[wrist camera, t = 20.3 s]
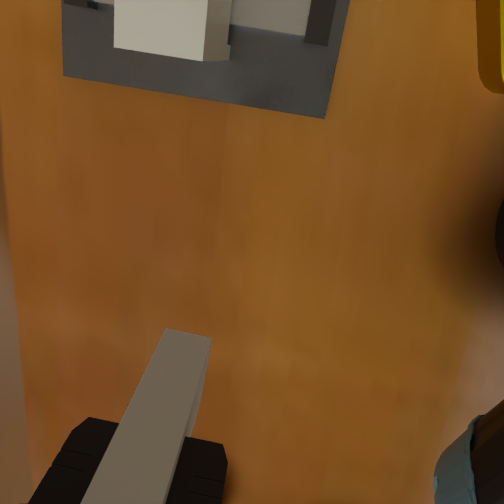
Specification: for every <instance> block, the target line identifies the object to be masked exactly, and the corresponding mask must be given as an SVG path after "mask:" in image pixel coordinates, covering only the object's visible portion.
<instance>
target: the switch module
mask: <svg viewBox="0 0 504 504" xmlns="http://www.w3.org/2000/svg"><path fill="white" fill-rule="evenodd" d="M231 5H232V0H114V47H115V48H121V49H128V50H134V51H140V52H146V53H153V54H159V55H165V56H172V57H178V58H184V59H190V60H197V61H223V60H229V55H230V46H231V45H227V41H228V32H229V23H230V14H231Z"/></svg>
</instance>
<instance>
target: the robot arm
mask: <svg viewBox="0 0 504 504" xmlns="http://www.w3.org/2000/svg"><path fill="white" fill-rule="evenodd" d="M495 239H496V248H497V252H498V256H499V259H500V261H501V263H502V265H503V267H504V201H503V203H502V206H501V208H500V211H499V214H498V218H497V224H496V233H495ZM211 341H212V338H210V337H205V336H200V335H196V334H191V333H186V332H182V331H177V330H172V329H167V328H166V329H165V331H164V333H163V335H162V337H161V339H160V341H159V343H158V345H157V347H156V349H155V351H154V353H153V355H152V357H151V360H150V362H149V364H148V366H147V368H146V370H145V372H144V374H143V376H142V378H141V380H140V382H139V384H138V386H137V388H136V390H135V392H134V395H133V397H132V399H131V401H130V403H129V405H128V407H127V409H126V411H125V413H124V415H123V417H122V419H121V421H120V423H115V422H110V421H106V420H101V419H96V418H92V417H88V418H87V419H86V420H85V421H83V422H82V423H81V424H80V425H78V426H77V427H76V428H75V429H73V430H72V431H71V433H70V435H69V436H68V438H67V440H66V441H65V443H64V445H63V446H62V448H61V451H60V452H59V453H58V454H57V456H56V458H55V459H54V461H53V463H52V466H51V467H50V468H49V469H48V471H47V473H46V474H45V476H44V478H43V479H42V481H41V483H40V484H39V486H38V488H37V489H36V491H35V492H34V494H33V496H32V498H31V499H30V501H29V503H28V504H221V500H222V495H223V489H224V483H225V477H226V471H227V465H228V461H227V458H226V454H225V450H224V447H223V444H219V443H215V442H210V441H205V440H201V439H196V438H191V434H192V431H193V427H194V424H195V420H196V416H197V413H198V409H199V406H200V401H201V396H202V390H203V385H204V379H205V374H206V368H207V363H208V358H209V352H210V347H211ZM434 489H435V496H434V500H435V504H504V400H503V401H501V402H500V403H499V404H498V405H496V406H495V407H494V408H493V409H491V410H490V411H489V412H488V413H486V414H484V415H478V416H477V417H476V418H474V419H473V420H472V421H471V423H470V424H469V426H468V429H467V430H466V431H465V432H464V433H463V434H462V435H461V436H460V437H458V438H457V439H456V440H455V441H454V442H453V443H452V444H451V445H450V446H449V447H448V448H446V449H445V451H444V452H443V453H442V454H441V456H440V458H439V459H438V462H437V464H436V467H435V472H434Z"/></svg>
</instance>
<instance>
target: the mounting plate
mask: <svg viewBox="0 0 504 504" xmlns="http://www.w3.org/2000/svg"><path fill="white" fill-rule="evenodd" d="M349 1H350V0H232V5H231V14H230V23H229V32H228V41H227V45H231V46H230V55H229V60H223V61H197V60H190V59H184V58H178V57H172V56H165V55H159V54H153V53H146V52H140V51H134V50H128V49H121V48H115V47H114V0H61V3H62V43H63V76H67V77H74V78H80V79H86V80H92V81H98V82H104V83H110V84H116V85H122V86H128V87H134V88H140V89H146V90H152V91H159V92H165V93H171V94H177V95H183V96H189V97H195V98H201V99H207V100H213V101H219V102H225V103H231V104H237V105H244V106H250V107H256V108H262V109H268V110H274V111H280V112H286V113H292V114H298V115H304V116H310V117H316V118H322V119H325V115H326V110H327V105H328V101H329V96H330V91H331V86H332V82H333V77H334V72H335V67H336V62H337V58H338V53H339V48H340V43H341V39H342V34H343V29H344V24H345V20H346V15H347V10H348V5H349Z"/></svg>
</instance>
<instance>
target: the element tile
mask: <svg viewBox="0 0 504 504" xmlns="http://www.w3.org/2000/svg"><path fill="white" fill-rule="evenodd" d="M476 20H477V48H478V71H479V76H480V79H481V81H482V83H483V85H484V87H485V88H487V89H488V90H490V91H491V92H493V93H498V94H504V0H476Z"/></svg>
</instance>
